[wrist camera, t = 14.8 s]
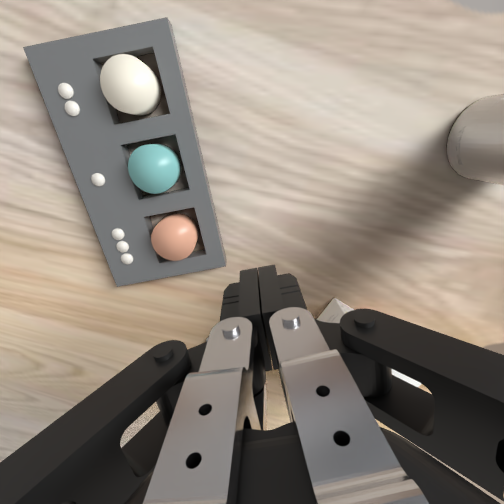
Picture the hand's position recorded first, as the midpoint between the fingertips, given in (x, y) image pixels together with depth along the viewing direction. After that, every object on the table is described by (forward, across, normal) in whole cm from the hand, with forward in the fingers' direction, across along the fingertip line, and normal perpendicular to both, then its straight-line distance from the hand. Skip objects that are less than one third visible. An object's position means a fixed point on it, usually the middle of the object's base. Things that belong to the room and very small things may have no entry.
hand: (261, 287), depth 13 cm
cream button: (+24, +10, -12) cm, 29 cm away
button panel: (+25, +12, -4) cm, 28 cm away
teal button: (+24, +10, -5) cm, 27 cm away
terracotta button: (+24, +10, +3) cm, 26 cm away
